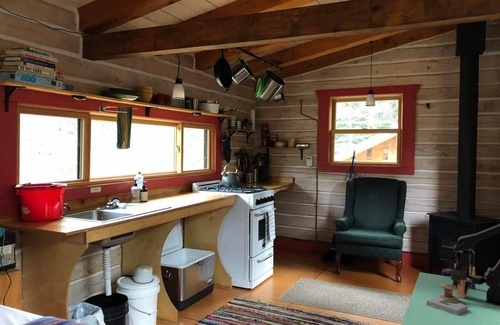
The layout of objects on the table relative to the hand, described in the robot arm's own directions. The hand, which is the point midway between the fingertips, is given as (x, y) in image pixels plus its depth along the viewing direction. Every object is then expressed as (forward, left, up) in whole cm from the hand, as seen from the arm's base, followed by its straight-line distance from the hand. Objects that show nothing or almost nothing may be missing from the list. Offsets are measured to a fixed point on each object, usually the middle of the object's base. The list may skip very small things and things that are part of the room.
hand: (462, 293), depth 204 cm
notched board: (-3, +21, -2) cm, 21 cm away
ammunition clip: (+7, -17, -2) cm, 18 cm away
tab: (0, 0, -2) cm, 2 cm away
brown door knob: (+2, +10, -2) cm, 10 cm away
